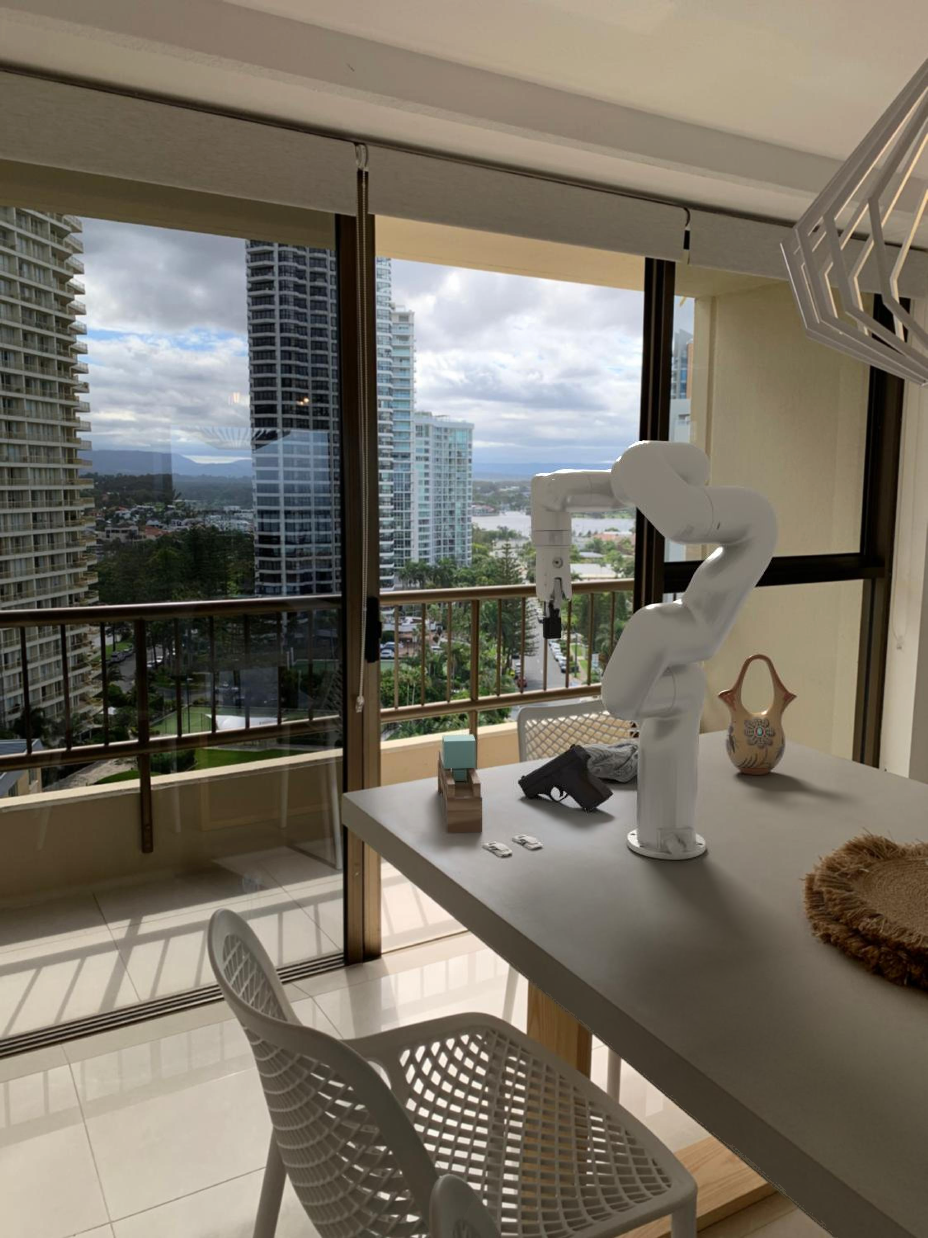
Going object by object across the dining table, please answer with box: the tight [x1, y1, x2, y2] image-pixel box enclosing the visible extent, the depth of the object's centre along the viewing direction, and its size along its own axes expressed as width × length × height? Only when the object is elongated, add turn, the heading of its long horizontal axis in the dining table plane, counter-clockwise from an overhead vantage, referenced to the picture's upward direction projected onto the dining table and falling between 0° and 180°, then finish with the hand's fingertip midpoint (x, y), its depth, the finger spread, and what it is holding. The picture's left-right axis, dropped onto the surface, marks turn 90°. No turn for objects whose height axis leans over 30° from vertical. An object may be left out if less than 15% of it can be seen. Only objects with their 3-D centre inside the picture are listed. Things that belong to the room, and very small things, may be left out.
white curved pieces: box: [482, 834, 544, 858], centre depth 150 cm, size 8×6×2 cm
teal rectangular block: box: [441, 733, 477, 781], centre depth 166 cm, size 4×6×8 cm
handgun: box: [517, 743, 614, 813], centre depth 171 cm, size 4×16×12 cm
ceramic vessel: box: [716, 653, 798, 776], centre depth 189 cm, size 16×9×25 cm, turn 92°
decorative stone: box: [581, 738, 638, 783], centre depth 189 cm, size 15×14×10 cm
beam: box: [437, 748, 483, 834], centre depth 168 cm, size 24×6×8 cm, turn 5°
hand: (552, 638), depth 173 cm, fingers closed
